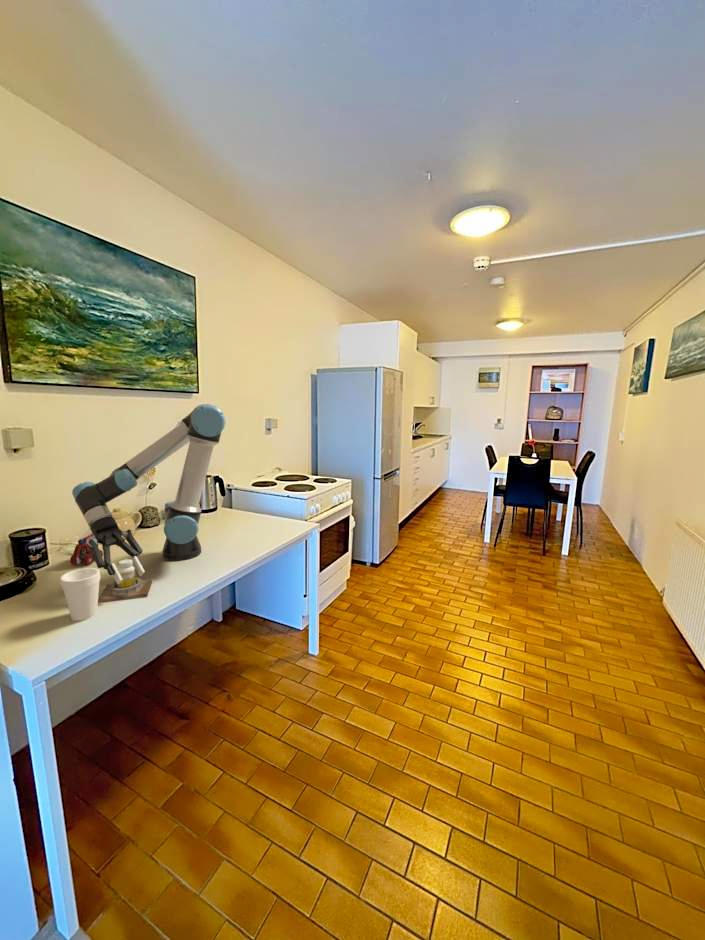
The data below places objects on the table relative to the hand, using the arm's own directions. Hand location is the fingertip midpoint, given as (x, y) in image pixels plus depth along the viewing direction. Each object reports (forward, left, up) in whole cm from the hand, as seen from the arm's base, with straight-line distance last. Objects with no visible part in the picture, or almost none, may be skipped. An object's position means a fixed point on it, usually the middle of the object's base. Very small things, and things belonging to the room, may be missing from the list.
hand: (131, 577), depth 127 cm
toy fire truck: (+22, -35, -6) cm, 42 cm away
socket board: (+2, -3, -6) cm, 7 cm away
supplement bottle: (+2, -3, -5) cm, 6 cm away
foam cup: (+11, +10, -6) cm, 16 cm away
